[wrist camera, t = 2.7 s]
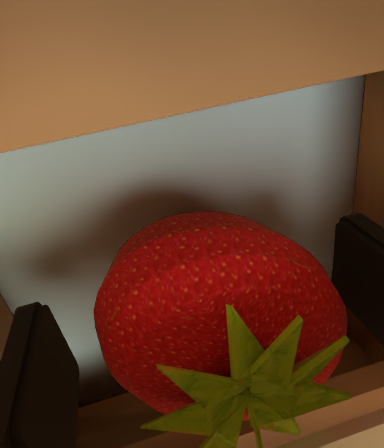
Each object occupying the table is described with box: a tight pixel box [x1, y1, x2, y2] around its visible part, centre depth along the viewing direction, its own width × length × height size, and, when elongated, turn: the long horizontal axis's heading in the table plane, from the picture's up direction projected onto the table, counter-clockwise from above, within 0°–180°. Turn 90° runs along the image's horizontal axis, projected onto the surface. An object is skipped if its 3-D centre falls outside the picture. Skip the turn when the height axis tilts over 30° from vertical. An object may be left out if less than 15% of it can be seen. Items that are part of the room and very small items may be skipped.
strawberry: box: [94, 211, 352, 448], centre depth 10 cm, size 6×8×10 cm
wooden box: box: [0, 0, 384, 448], centre depth 12 cm, size 20×18×6 cm
